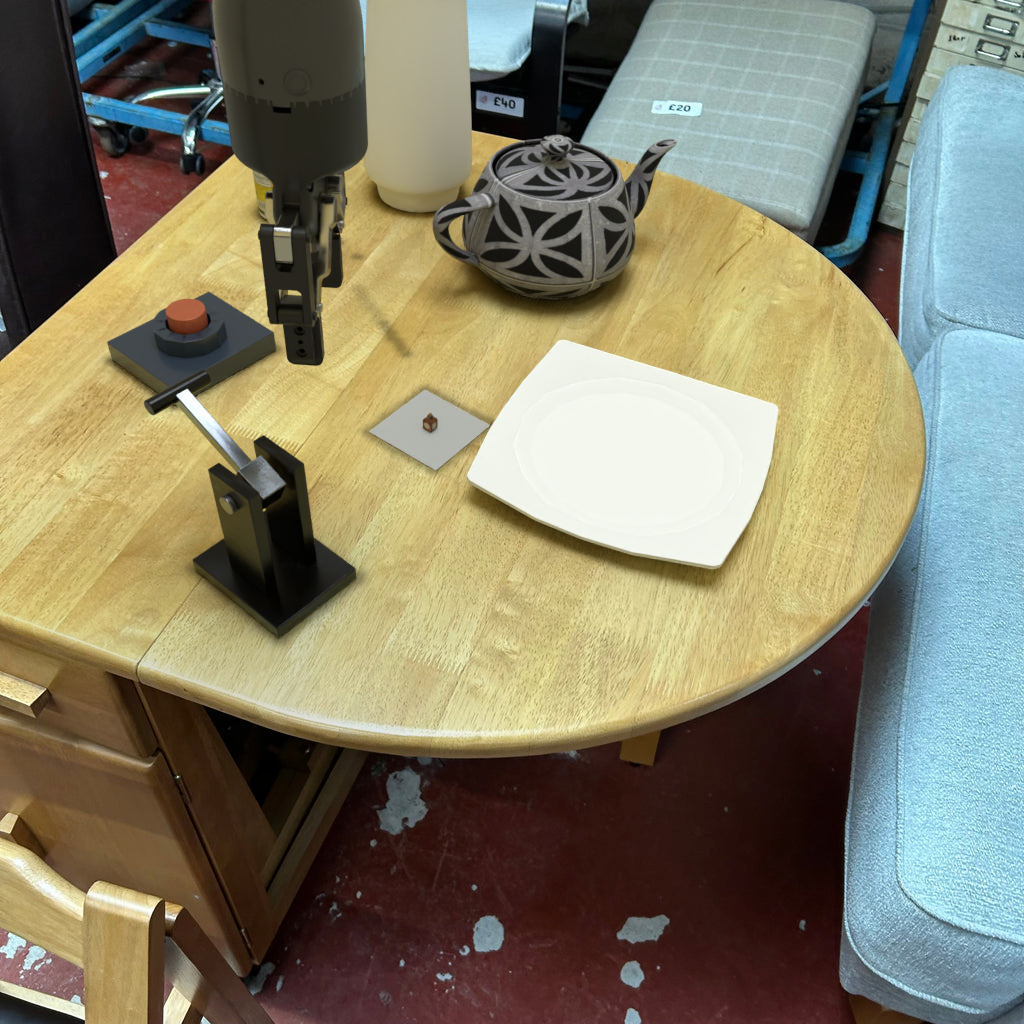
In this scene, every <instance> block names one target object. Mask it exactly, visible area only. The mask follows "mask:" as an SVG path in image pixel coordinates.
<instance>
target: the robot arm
mask: <svg viewBox="0 0 1024 1024" xmlns="http://www.w3.org/2000/svg"><path fill="white" fill-rule="evenodd" d="M212 22H213V32H214V38H215V44H216V51H217V58H218V64H219V65H218V66H219V72H220V78H221V85H222V92H223V98H224V107H225V112H226V113H225V114H226V119H227V126H228V134H229V139H230V146H231V149H232V152H233V154H234V156H235V157H236V158H237V160H238V161H239V162H240V163H241V164H242V165H243V166H245V167H247V168H248V169H250V170H251V171H252V172H253V171H257V172H258V173H260V174H262V175H263V176H265V177H266V178H268V179H269V180H270V181H271V182H272V184H273V188H272V191H266V194H265V218H266V219H265V218H264V219H265V220H267V222H268V223H265V222H264V223H263V222H261V223H260V225H259V229H258V231H257V239H258V241H259V247H260V257H261V265H262V273H263V274H262V275H263V282H264V283H263V284H264V290H265V298H266V299H265V300H266V306H267V307H266V308H267V309H266V310H267V312H266V316H267V319H268V322H269V324H270V325H275V326H276V325H277V326H279V325H282V329H283V339H284V345H285V353H286V359H287V361H288V362H289V363H290V364H292V365H297V366H311V367H313V366H314V367H319V366H321V365H322V364H323V362H324V358H325V342H324V331H323V320H322V313H323V308H324V306H323V305H324V304H323V302H322V295H323V294H322V292H323V291H322V289H323V288H325V289H327V288H328V289H339V288H340V287H342V284H343V281H344V265H343V251H342V239H341V238H342V237H341V236H342V235H341V234H343V229H345V218H346V217H345V216H346V208H347V206H348V201H349V199H348V197H347V193H346V177H345V172H348V171H349V170H350V169H352V168H354V167H356V166H357V165H358V164H359V163H360V162H361V161H362V160H363V159H364V155H365V154H366V151H367V148H368V128H367V103H366V78H365V34H364V32H365V31H364V19H363V13H362V5H361V1H360V0H212ZM336 233H337V234H336ZM338 233H339V234H338ZM289 291H292V292H294V291H295V292H298V293H299V294H300V295H298V294H289Z"/></svg>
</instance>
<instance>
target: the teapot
mask: <svg viewBox="0 0 1024 1024" xmlns="http://www.w3.org/2000/svg"><path fill="white" fill-rule="evenodd" d="M678 142H679V141H678V140H677V139H674V138H666V139H662V140H658V141H656V142H655V143H653V144H652V145H650V146H649V148H647V149H646V150H645V152H644V153H643V154H642V156H641V158H640V159H639V160H638V161H637V164H636V165H635V167H634V169H633V170H632V171H631V173H630V174H629V176H628V177H627V178H626V179H625V180H624V177H623V174H622V171H621V170H620V167H619V166H618V165H617V163H616V162H615V161H614V160H613V159H612V158H611V157H610V156H608V155H607V154H606V153H603V152H602V151H600V150H598V149H597V148H594V147H592V146H589V145H586V144H582V143H580V142H575V141H573V140H572V139H571V138H570V137H568V136H566V135H562V134H549V135H545V136H544V137H543V138H535V139H526V140H521V141H517V142H513V143H511V144H508V145H506V146H505V145H504V146H503V147H502V148H500V149H498V150H497V151H496V152H495V153H494V154H493V155H492V156H491V157H490V158H489V160H488V161H487V163H486V165H485V167H484V168H483V170H482V172H481V173H480V175H479V178H478V179H477V181H476V183H475V185H474V186H473V189H472V190H471V193H470V195H469V196H467V197H464V198H461V199H456V200H455V201H454V202H452V203H449V204H447V205H445V206H443V207H442V208H440V209H439V210H438V211H435V213H434V215H433V218H432V232H433V236H434V239H435V240H436V241H435V242H437V244H438V245H439V247H440V248H441V249H442V250H443V251H444V252H445V253H446V254H448V255H449V256H450V257H452V258H454V259H456V260H457V261H459V262H461V263H464V264H468V265H470V266H475V267H477V268H478V269H479V270H480V271H481V272H483V273H484V275H485V276H487V277H489V279H491V280H492V281H494V282H495V283H496V284H497V285H498V286H500V287H503V288H504V289H505V290H507V291H509V292H512V293H514V294H517V295H520V296H524V297H528V298H531V299H538V300H547V301H548V300H550V301H551V300H565V299H566V300H567V299H571V298H576V297H580V296H583V295H586V294H588V293H591V292H593V291H594V290H596V289H598V288H600V287H602V286H604V285H606V284H608V283H609V282H611V281H612V280H614V279H615V278H616V277H618V276H619V275H620V274H621V273H622V272H623V271H624V269H626V267H627V265H628V264H629V262H630V260H631V258H632V256H633V253H634V250H635V244H636V225H635V224H636V223H635V220H636V219H637V218H638V217H639V215H640V214H641V213H642V211H643V210H644V208H645V206H646V205H647V202H648V199H649V196H650V193H651V188H652V185H653V182H654V177H655V175H656V171H657V169H658V167H659V164H660V162H661V161H662V159H663V158H664V156H666V154H667V153H668V152H669V151H670V150H672V149H673V148H674V147H676V145H677V144H678ZM462 216H463V218H462V224H461V237H462V242H463V245H464V248H465V249H463V248H461V247H459V246H458V245H457V244H456V243H455V242H454V240H453V239H452V237H451V233H450V225H451V224H452V222H453V221H455V220H457V219H458V218H461V217H462Z"/></svg>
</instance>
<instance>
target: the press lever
mask: <svg viewBox="0 0 1024 1024" xmlns="http://www.w3.org/2000/svg"><path fill="white" fill-rule="evenodd" d="M210 384H211V378H210V376H209V374H208V373H207V372H206V371H205V370H200V371H198V372H196V373H194V374H193V375H191V376H189V377H187V378H185V379H183V380H182V381H180V382H178V383H176V384H174V385H172V386H171V387H169V388H167V389H165V390H163V391H161V392H160V393H158V392H157V393H156V394H154V395H152V396H150V397H149V398H147V399H145V400H143V406H144V408H145V410H146V412H148V414H150V415H151V416H156V415H158V414H160V413H162V412H163V411H165V410H167V409H169V408H170V407H172V406H175V405H174V404H177V406H176V407H178V408H179V410H181V411H182V413H183V414H184V415H185V416H186V417H187V419H188V420H189V421H190V422H191V423H192V424H193V425H194V426H195V427H196V428H197V430H198V431H199V432H200V433H201V434H202V435H203V436H204V437H205V439H206V440H207V441H208V442H209V443H210V444H211V446H212V447H214V449H215V450H216V451H217V452H218V453H219V454H220V456H221V457H222V458H223V459H224V461H226V462H227V463H228V464H229V466H230V467H231V468H232V469H233V471H234V472H235V475H236V476H238V477H239V478H241V479H242V480H243V481H245V482H246V483H247V484H249V485H250V486H251V487H253V488H254V489H255V490H257V491H258V492H259V493H260V497H261V502H262V508H263V510H266V509H265V508H266V507H268V506H269V505H271V504H272V503H274V502H275V501H277V500H278V499H280V498H281V496H282V494H283V491H284V489H285V487H286V484H287V483H286V482H285V481H284V480H283V479H282V478H281V476H280V475H279V474H278V473H277V472H276V471H275V470H274V469H273V467H272V466H271V465H270V464H269V463H268V462H267V461H266V459H265V458H264V457H263V456H262V455H261V456H259V457H257V458H256V457H255V458H254V459H251V458H250V457H249V456H248V455H247V453H245V451H244V450H243V449H242V448H241V447H240V446H239V445H238V444H237V442H236V441H235V440H234V439H233V438H232V437H231V435H230V434H229V433H228V432H227V431H226V430H225V429H224V427H222V425H220V423H219V422H218V421H217V420H216V419H215V418H214V416H213V415H212V414H211V413H210V412H209V411H208V410H207V408H205V406H204V405H203V404H202V403H201V401H200V400H198V398H197V397H196V395H195V396H194V395H193V393H195V392H197V391H199V390H201V389H202V388H204V387H206V386H208V385H210Z"/></svg>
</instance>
